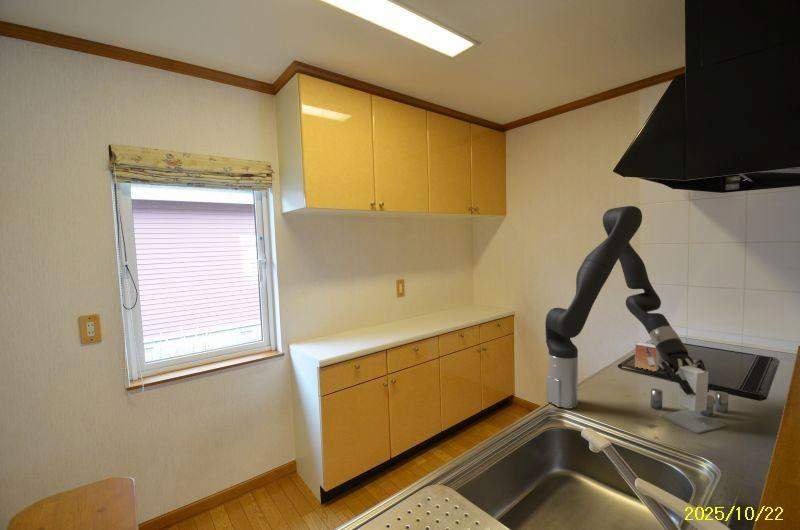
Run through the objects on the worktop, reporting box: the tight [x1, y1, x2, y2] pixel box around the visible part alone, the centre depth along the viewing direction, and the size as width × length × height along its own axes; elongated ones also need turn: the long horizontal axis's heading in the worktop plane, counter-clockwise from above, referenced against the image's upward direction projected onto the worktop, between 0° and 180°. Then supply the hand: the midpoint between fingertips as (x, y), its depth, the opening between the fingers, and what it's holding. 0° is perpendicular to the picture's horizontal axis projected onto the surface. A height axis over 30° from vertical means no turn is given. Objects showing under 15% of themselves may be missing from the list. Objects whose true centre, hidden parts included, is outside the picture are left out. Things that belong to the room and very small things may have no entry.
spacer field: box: [650, 388, 730, 418], centre depth 121 cm, size 21×12×6 cm, turn 108°
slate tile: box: [659, 408, 727, 434], centre depth 113 cm, size 12×11×1 cm
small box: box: [634, 341, 660, 372], centre depth 160 cm, size 8×6×10 cm
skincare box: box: [677, 366, 710, 413], centre depth 112 cm, size 6×4×12 cm
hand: (698, 393), depth 110 cm, fingers closed on skincare box, 4 cm apart
